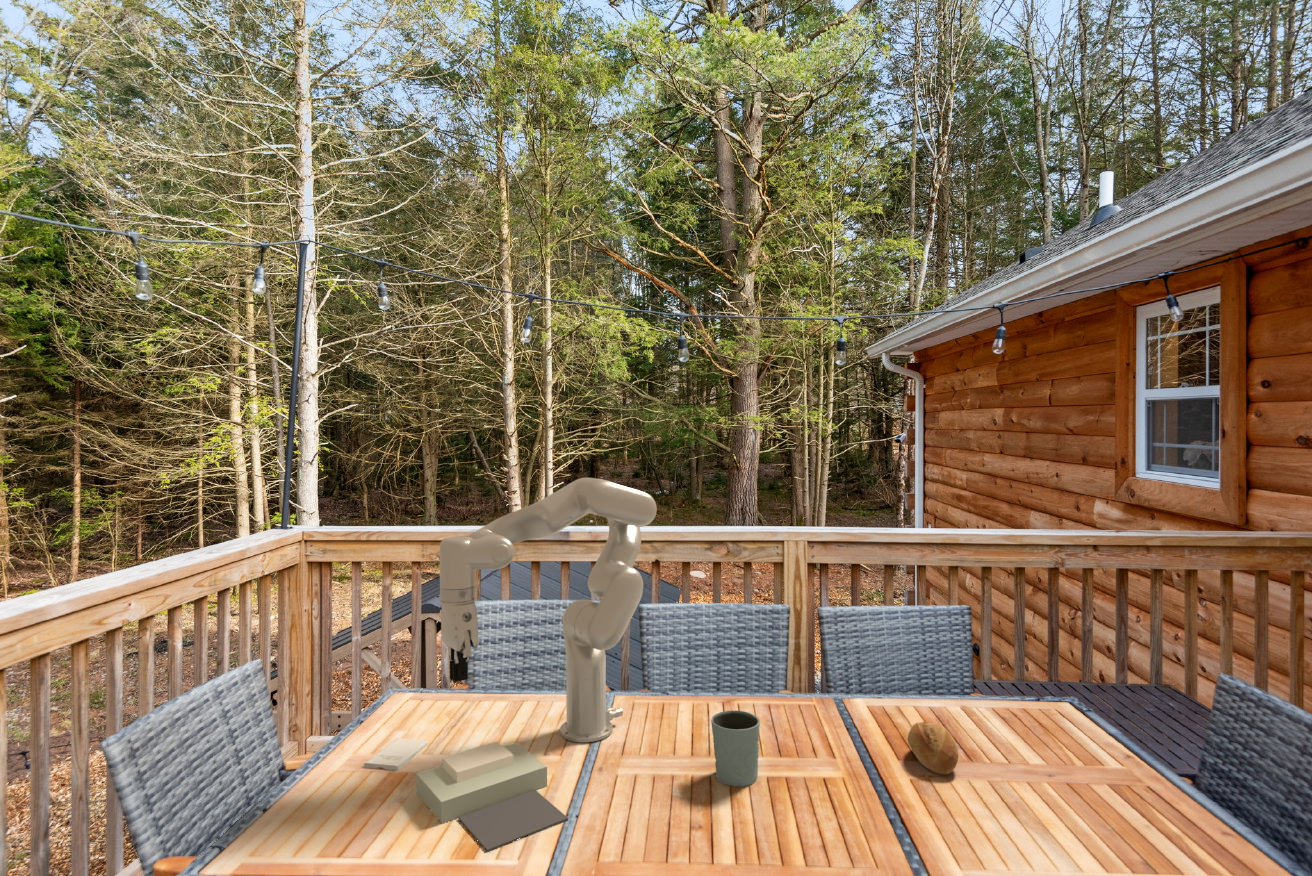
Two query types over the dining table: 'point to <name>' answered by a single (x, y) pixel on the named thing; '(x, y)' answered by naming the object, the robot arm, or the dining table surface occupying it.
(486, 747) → the cream flat block
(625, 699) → the dining table surface
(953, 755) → the bread roll
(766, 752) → the dining table surface
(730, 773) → the grey green cup
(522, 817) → the mat
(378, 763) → the external hard drive
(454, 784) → the sage green block
